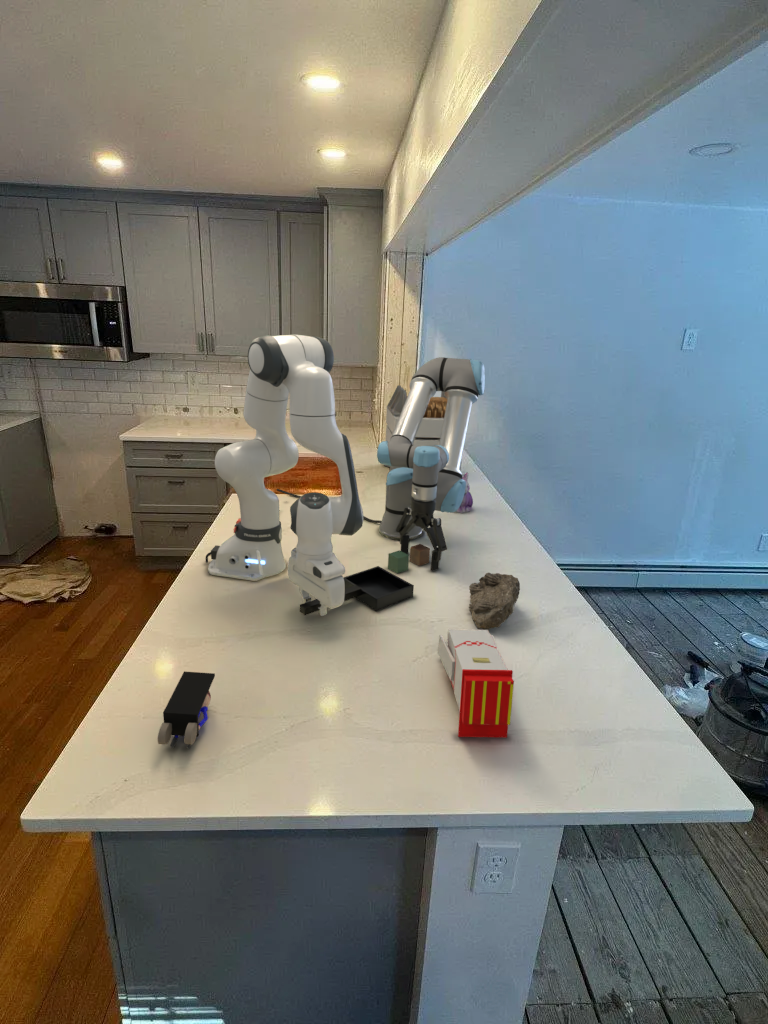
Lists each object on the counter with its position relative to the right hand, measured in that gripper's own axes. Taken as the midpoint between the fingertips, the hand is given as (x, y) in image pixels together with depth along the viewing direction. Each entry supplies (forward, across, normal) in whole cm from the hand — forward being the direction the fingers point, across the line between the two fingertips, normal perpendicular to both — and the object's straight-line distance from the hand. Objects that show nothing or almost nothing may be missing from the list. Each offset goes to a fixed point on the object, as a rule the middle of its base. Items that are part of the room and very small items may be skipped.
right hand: (418, 562), depth 178 cm
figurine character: (+1, +28, -86) cm, 90 cm away
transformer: (-1, -74, +72) cm, 103 cm away
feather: (0, -62, -14) cm, 64 cm away
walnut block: (0, 0, 0) cm, 0 cm away
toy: (0, +53, -36) cm, 64 cm away
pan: (0, +8, -33) cm, 34 cm away
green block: (0, 0, -9) cm, 9 cm away
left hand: (-2, +8, -45) cm, 45 cm away
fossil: (0, +34, -6) cm, 34 cm away
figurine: (0, -26, +49) cm, 56 cm away
